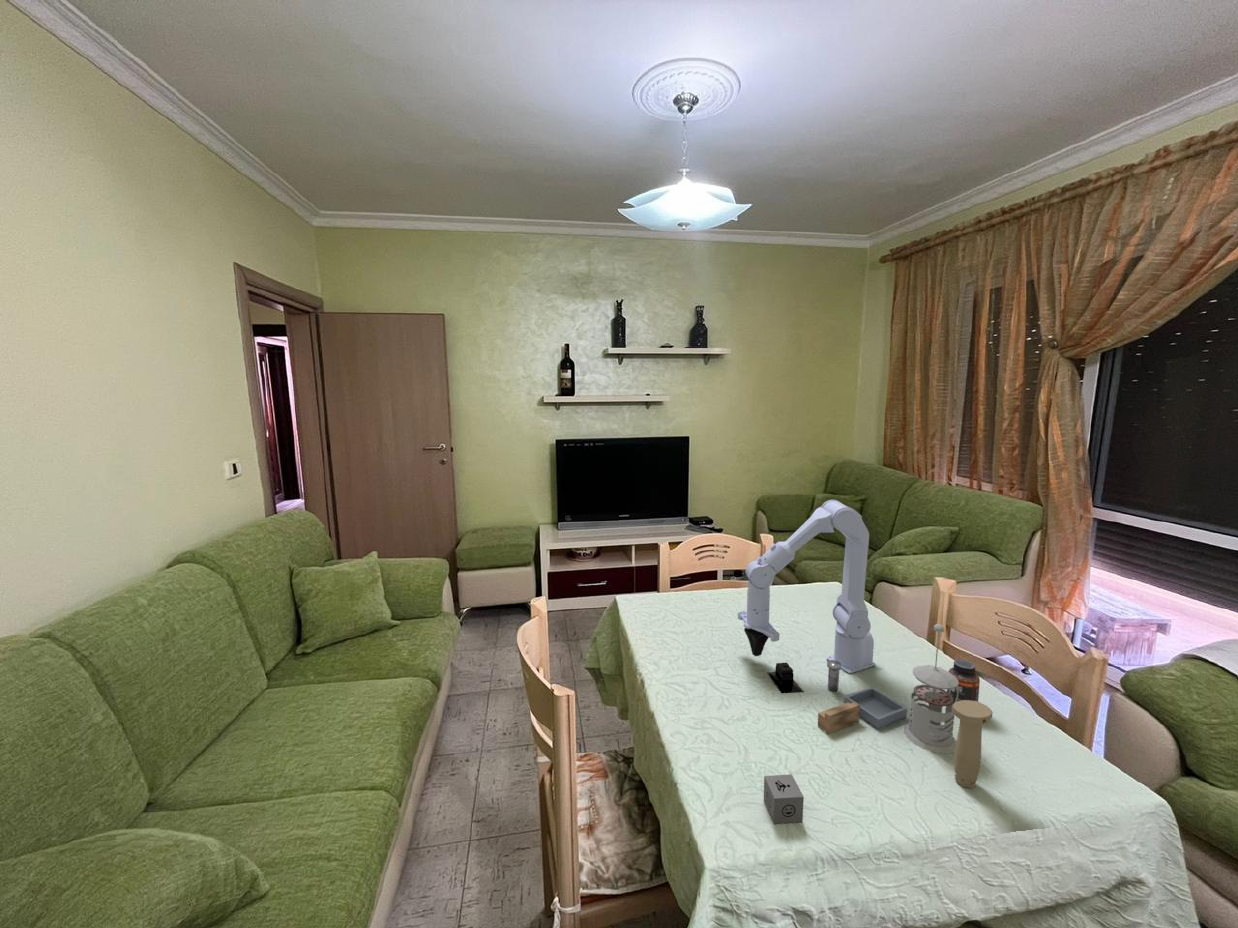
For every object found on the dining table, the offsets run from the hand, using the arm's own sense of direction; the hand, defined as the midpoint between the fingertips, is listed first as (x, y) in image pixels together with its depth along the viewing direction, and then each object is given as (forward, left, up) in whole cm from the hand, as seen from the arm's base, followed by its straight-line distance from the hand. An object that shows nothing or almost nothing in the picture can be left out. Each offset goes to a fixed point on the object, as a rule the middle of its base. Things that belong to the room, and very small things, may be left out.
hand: (756, 654), depth 134 cm
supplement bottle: (-29, +35, -3) cm, 46 cm away
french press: (-15, +38, -3) cm, 41 cm away
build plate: (-1, +10, -3) cm, 10 cm away
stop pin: (-9, +17, -2) cm, 20 cm away
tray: (-10, +28, -2) cm, 30 cm away
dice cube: (+27, +40, -3) cm, 49 cm away
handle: (-8, +49, -3) cm, 50 cm away
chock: (0, +27, -2) cm, 28 cm away
